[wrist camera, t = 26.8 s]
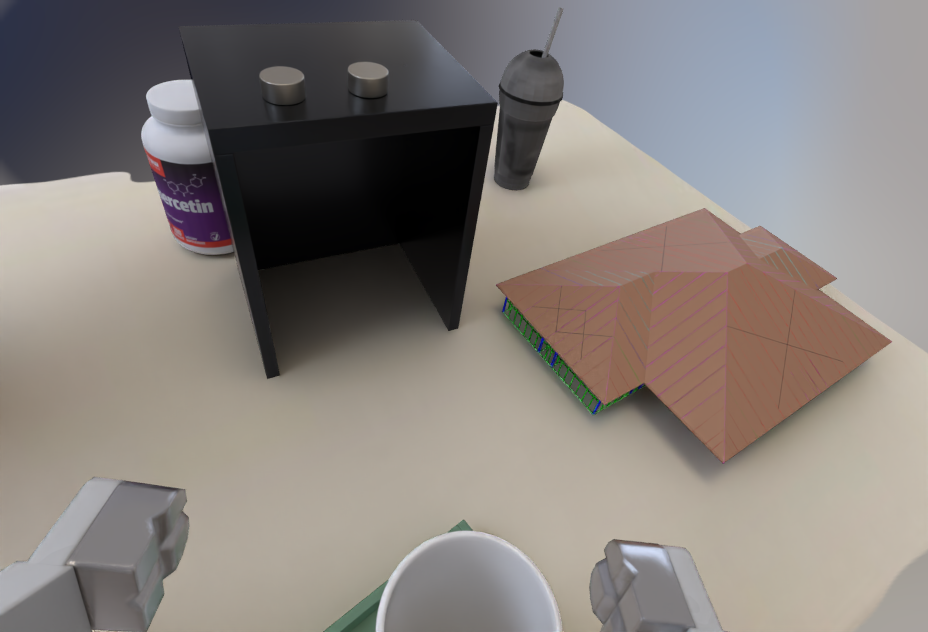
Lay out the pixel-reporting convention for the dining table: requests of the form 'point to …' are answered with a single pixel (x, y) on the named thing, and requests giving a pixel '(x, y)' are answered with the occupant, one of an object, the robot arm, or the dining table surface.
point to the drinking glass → (467, 589)
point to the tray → (371, 605)
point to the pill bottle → (184, 169)
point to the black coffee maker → (342, 149)
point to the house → (696, 325)
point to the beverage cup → (526, 112)
